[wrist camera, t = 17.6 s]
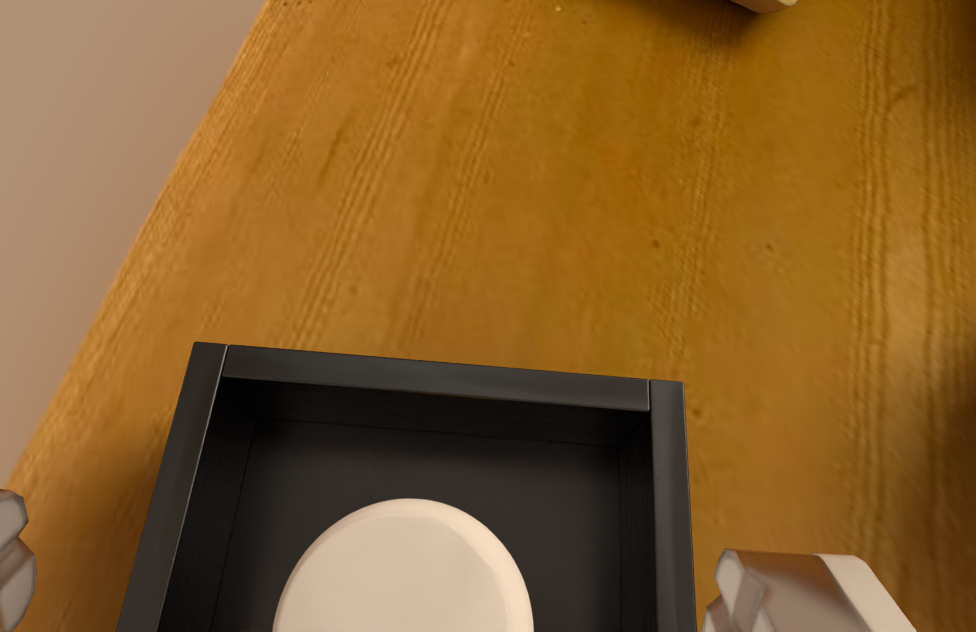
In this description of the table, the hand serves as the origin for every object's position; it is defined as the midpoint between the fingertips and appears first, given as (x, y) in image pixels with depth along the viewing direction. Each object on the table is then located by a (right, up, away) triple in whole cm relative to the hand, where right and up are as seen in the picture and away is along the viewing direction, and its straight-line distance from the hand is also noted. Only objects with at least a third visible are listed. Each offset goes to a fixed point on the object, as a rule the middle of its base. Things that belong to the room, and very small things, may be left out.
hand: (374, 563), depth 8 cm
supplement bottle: (-1, -7, +12) cm, 14 cm away
